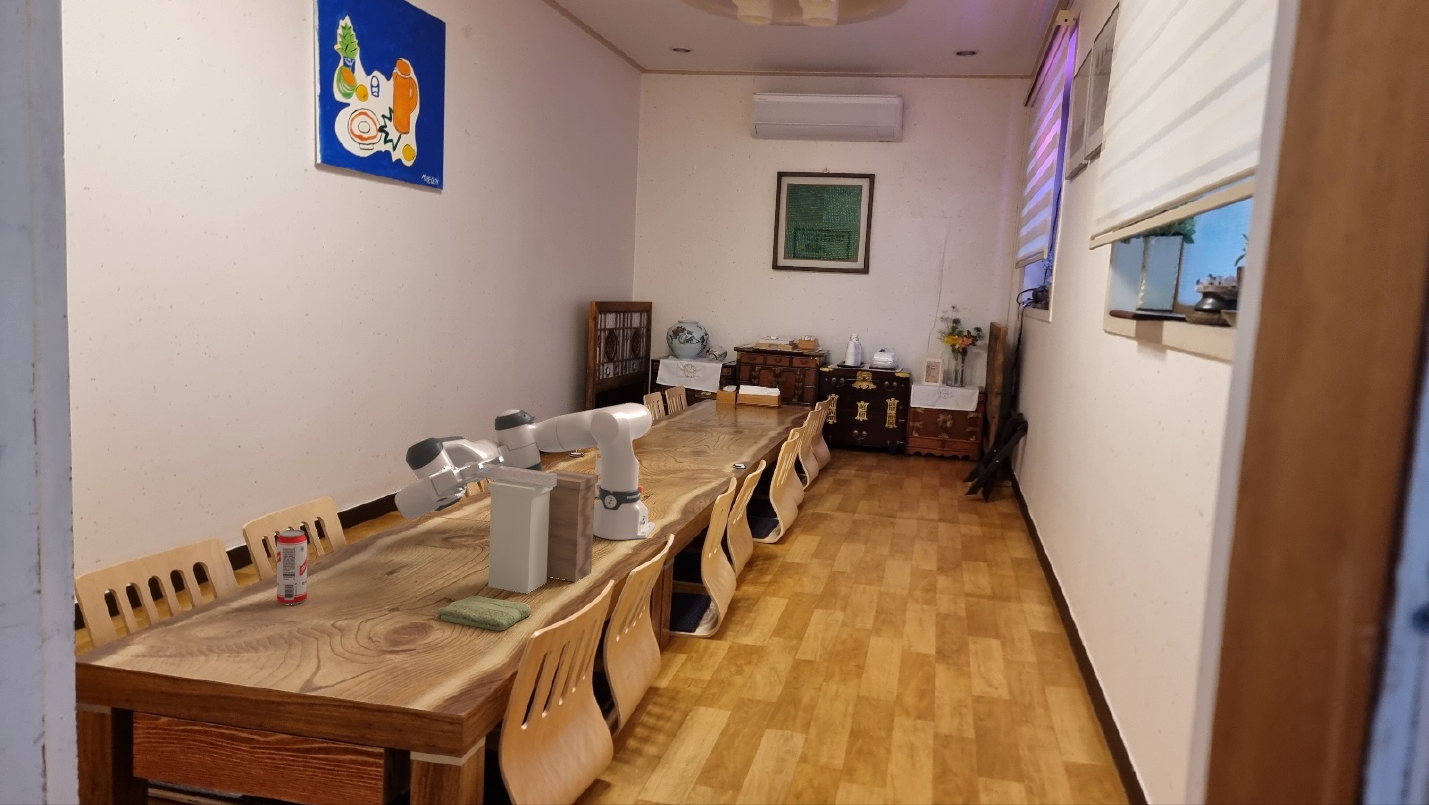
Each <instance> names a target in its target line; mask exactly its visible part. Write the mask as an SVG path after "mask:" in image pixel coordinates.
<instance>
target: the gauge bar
mask: <svg viewBox="0 0 1429 805" xmlns="http://www.w3.org/2000/svg"><path fill="white" fill-rule="evenodd" d="M476 463H479V462H472V461H471V462H468V463H465V466H467V465H471V466H472V465H474V464H476ZM481 464H482V466H483V469H482V470H480V471H478V472H475V473H474V474H473V476H474V475H476V477H478V478H485V479H484V480H493V481H495V480H499V481H505V482H512V483H519V484H526V485H532V486H539V487H546V488H552V487H555V486H556V484H557V474H556V473H549V472H550V471H548V472H547V471H543V470H542V471H535V470H528V469H521V468H514V467H507V466H500V465H493V464H486V463H481Z"/></svg>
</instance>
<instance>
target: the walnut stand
mask: <svg viewBox="0 0 1429 805" xmlns="http://www.w3.org/2000/svg"><path fill="white" fill-rule="evenodd" d="M548 472H549V473H556V474H557V484H556V486H555V487H553V489H552V490H550V500H549V527H548V553H547V577H553V578H559V579H565V580H569V581H573V582H572V583H575V582H576V581H577V582H578V580H579V579H580V580H582V579H583V578H582V577H584V578H585V577H587V576H588V575H590V574H591V573H592V569H593V568H592V565H593V564H592V563H593V545H594V542H593V540H594V534H593V523H594V506H595V500H596V497H595V484H596V483H598V475H595V473H588V472H582V471H581V472H580V471H575V470H574V471H573V470H566V469H565V470H564V469H559V468H557V469H553V470H550V471H548ZM581 578H582V579H581ZM580 580H579V581H580ZM569 581H568V582H569ZM577 582H576V583H577Z"/></svg>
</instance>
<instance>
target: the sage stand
mask: <svg viewBox="0 0 1429 805" xmlns="http://www.w3.org/2000/svg"><path fill="white" fill-rule="evenodd" d="M487 486H488V487H487V488H488V489H487V491H488V492H490V510H489V511H490V513H489V514H490V515H489V552H488V581H487V582H488V585H487V586H488V588H493V589H499V590H503V589H504V590H505V591H509V592H514V591H515V593H519V592H520V594H525V593H526V594H525V595H529V594H531V593H532V592H531V591H533V590H534V591H536V590H537V589H536V588H537V587H539V586H540V585H543V584H544V585H546V584H547V579H548V578H547V553H548V527H549V500H550V490H552V489H553V487H552V488H546V487H539V486H532V485H526V484H519V483H512V482H505V481H499V480H493V481H490V482H488V483H487ZM545 583H546V584H545ZM544 585H543V586H544ZM539 588H540V587H539ZM535 589H536V590H535ZM504 590H503V591H504ZM534 591H533V592H534ZM530 592H531V593H530ZM528 593H529V594H528Z"/></svg>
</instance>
